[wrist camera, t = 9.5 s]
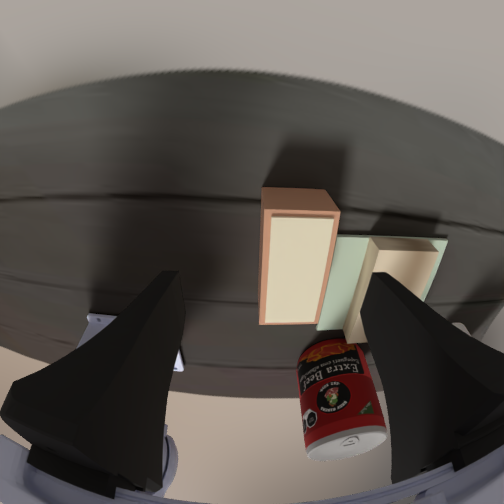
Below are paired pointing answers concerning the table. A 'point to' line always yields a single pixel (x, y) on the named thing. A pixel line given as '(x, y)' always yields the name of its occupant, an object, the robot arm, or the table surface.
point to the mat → (355, 276)
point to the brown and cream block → (295, 254)
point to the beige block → (397, 265)
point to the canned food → (338, 402)
